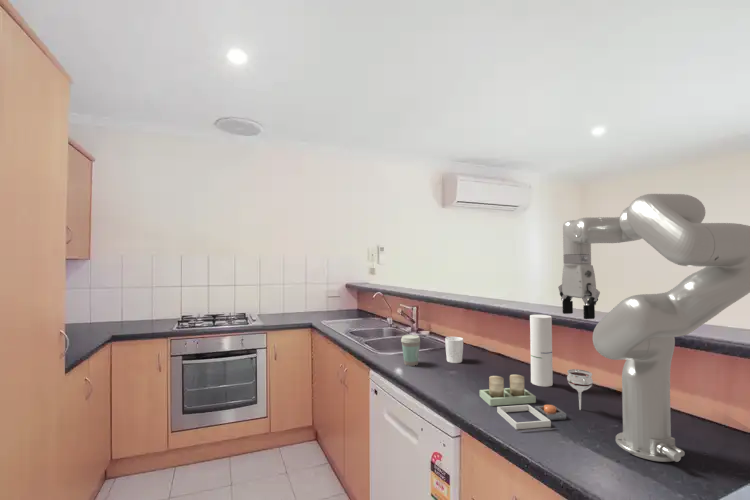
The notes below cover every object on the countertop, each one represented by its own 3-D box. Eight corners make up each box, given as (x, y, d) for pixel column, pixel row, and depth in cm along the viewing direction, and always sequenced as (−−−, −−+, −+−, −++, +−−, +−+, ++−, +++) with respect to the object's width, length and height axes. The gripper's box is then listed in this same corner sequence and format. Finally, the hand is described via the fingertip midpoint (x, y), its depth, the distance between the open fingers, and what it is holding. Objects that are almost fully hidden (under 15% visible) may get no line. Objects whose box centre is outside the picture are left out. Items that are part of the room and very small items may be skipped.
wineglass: (594, 411, 113) (593, 371, 113) (592, 419, 107) (591, 377, 107) (568, 406, 117) (568, 367, 117) (566, 414, 111) (565, 373, 111)
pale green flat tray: (535, 405, 117) (535, 396, 117) (490, 409, 115) (490, 399, 115) (522, 396, 125) (522, 387, 125) (479, 399, 123) (479, 390, 123)
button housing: (566, 422, 106) (566, 413, 106) (546, 423, 105) (546, 415, 105) (553, 413, 112) (553, 405, 112) (534, 414, 111) (534, 406, 111)
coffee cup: (418, 367, 158) (418, 339, 158) (399, 366, 160) (398, 338, 160) (422, 362, 166) (422, 334, 166) (403, 360, 168) (403, 333, 168)
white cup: (441, 359, 169) (441, 337, 169) (456, 357, 172) (455, 335, 172) (452, 364, 162) (452, 341, 162) (467, 362, 165) (466, 339, 165)
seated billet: (527, 400, 119) (527, 378, 119) (514, 401, 118) (514, 379, 118) (520, 395, 123) (519, 374, 123) (507, 396, 123) (507, 374, 123)
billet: (506, 402, 118) (506, 380, 118) (493, 403, 117) (493, 380, 117) (499, 397, 122) (499, 375, 122) (487, 397, 122) (486, 376, 122)
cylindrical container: (555, 389, 131) (553, 318, 131) (533, 388, 132) (532, 317, 132) (549, 382, 138) (548, 314, 138) (529, 381, 139) (528, 314, 139)
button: (558, 417, 107) (558, 408, 107) (548, 418, 107) (548, 409, 107) (551, 413, 110) (551, 404, 110) (541, 413, 110) (541, 404, 110)
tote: (550, 430, 101) (550, 420, 101) (516, 432, 100) (516, 423, 100) (528, 412, 112) (528, 404, 112) (497, 415, 111) (497, 406, 111)
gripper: (609, 260, 107) (610, 320, 107) (569, 259, 125) (570, 311, 124) (585, 261, 106) (586, 321, 106) (549, 260, 124) (549, 312, 123)
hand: (578, 316), depth 115 cm, fingers open, 9 cm apart
